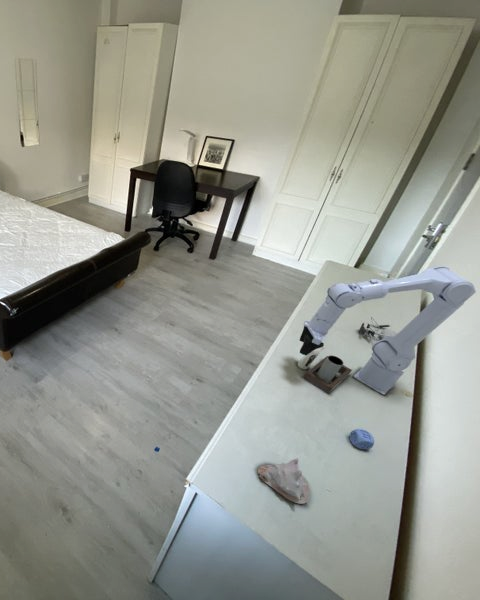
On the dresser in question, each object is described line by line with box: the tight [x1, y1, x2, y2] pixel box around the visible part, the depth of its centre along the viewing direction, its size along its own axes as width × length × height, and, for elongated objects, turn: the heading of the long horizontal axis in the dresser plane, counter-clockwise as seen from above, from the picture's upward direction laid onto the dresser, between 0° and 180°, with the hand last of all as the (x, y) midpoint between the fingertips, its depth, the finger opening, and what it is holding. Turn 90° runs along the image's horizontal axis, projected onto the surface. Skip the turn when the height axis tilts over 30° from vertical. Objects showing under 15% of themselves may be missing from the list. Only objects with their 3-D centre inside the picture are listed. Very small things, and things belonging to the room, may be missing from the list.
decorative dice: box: [349, 428, 375, 450], centre depth 94 cm, size 4×4×4 cm
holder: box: [303, 355, 353, 395], centre depth 115 cm, size 8×16×3 cm, turn 124°
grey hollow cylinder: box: [315, 355, 344, 384], centre depth 111 cm, size 4×4×10 cm
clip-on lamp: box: [358, 316, 398, 342], centre depth 135 cm, size 12×6×18 cm
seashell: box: [257, 457, 310, 505], centre depth 81 cm, size 10×12×9 cm
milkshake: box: [297, 347, 325, 370], centre depth 117 cm, size 4×5×10 cm
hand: (302, 347), depth 112 cm, fingers open, 7 cm apart
